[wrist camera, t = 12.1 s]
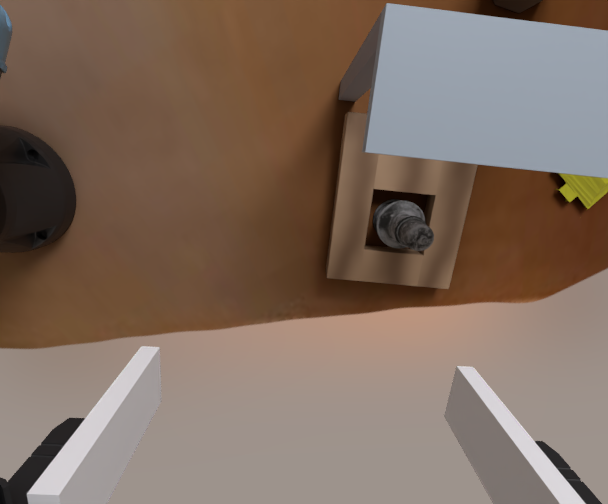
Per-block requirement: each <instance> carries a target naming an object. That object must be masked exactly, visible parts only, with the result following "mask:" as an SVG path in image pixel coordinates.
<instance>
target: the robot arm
mask: <svg viewBox="0 0 608 504" xmlns="http://www.w3.org/2000/svg"><path fill="white" fill-rule="evenodd" d="M11 36H12V24H11V21H10V18H9V16H8V15H7V13H6V11H5V10H4V9H3V7H2V6H1V5H0V78H1V74H2V72H3V73H6V71H7V66H6V64H5V61H6V57H7V53H8V49H9V45H10V41H11ZM75 207H76V195H75V188H74V184H73V181H72V178H71V175H70V173H69V171H68V169H67V167H66V166H65V164H64V162H63V161H62V160H61V158H60V157H59V156H58V155H57V153H56V152H55V151H54V150H53V149H52V148H51V147H50V146H49V145H47V144H46V143H45V142H44V141H42V140H41V139H39V138H38V137H36V136H34V135H33V134H31V133H29V132H26V131H24V130H21V129H18V128H14V127H9V126H0V252H12V253H14V252H25V251H30V250H34V249H37V248H39V247H42V246H45V245H47V244H50V243H52V242H54V241H55V240H57V239H58V238H59V237H60V236H62V235H63V234H64V232H65V231H66V230H67V229H68V227H69V225H70V224H71V222H72V219H73V216H74V213H75ZM160 372H161V371H160V347H147V346H141V348H140V349H139V350H138V351H137V353H136V354H135V355H134V357H133V358H132V359H131V360H130V362H129V363H128V364H127V366H126V367H125V368H124V369H123V371H122V372H121V373H120V375H119V376H118V377H117V379H116V380H115V381H114V382H113V384H112V385H111V386H110V387H109V389H108V390H107V391H106V393H105V394H104V395H103V396H102V398H101V399H100V400H99V402H98V403H97V404H96V405H95V407H94V408H93V409H92V411H91V412H90V413H89V414H88V416H87V417H86V418H85V419H84V418H69V419H67V420H66V421H64V422H63V423H61V424H60V425H58V426H57V427H56V428H54V429H53V430H52V431H51V432H50V434H49V435H48V436H47V437H46V438H45V440H44V441H43V442H42V443H41V446H38V447H37V449H36V450H35V451H34V452H33V453H32V455H31V457H29V458H28V459H27V460H26V461H25V462H24V464H23V465H22V466H21V467H20V468H19V470H18V471H17V472H16V473H15V474H14V475H13V476H12V478H11V479H10V480H9V481H8V482H7V481H6V480H5V479H3V478H0V504H107V502H108V501H109V499H110V497H111V495H112V493H113V491H114V489H115V487H116V486H117V484H118V482H119V480H120V478H121V476H122V474H123V472H124V471H125V469H126V467H127V465H128V463H129V461H130V459H131V457H132V455H133V453H134V452H135V450H136V448H137V446H138V444H139V442H140V440H141V438H142V436H143V435H144V433H145V431H146V429H147V427H148V425H149V423H150V421H151V419H152V418H153V416H154V414H155V412H156V410H157V408H158V406H159V404H160V402H161V373H160ZM444 416H445V419H446V421H447V422H448V424H449V426H450V427H451V429H452V431H453V433H454V435H455V437H456V438H457V440H458V442H459V444H460V445H461V447H462V449H463V451H464V453H465V454H466V456H467V458H468V459H469V461H470V463H471V465H472V467H473V468H474V470H475V472H476V474H477V476H478V477H479V479H480V481H481V483H482V485H483V486H484V488H485V490H486V492H487V493H488V495H489V497H490V499H491V500H492V502H493V504H602V503H601V502H600V501H599V500H598V499H597V498H596V496H595V495H594V494H593V493H592V492H591V491H590V489H589V488H588V487H587V486H586V485H585V484H584V483H583V482H581V481H580V478H579V477H578V476H577V474H576V473H575V472H574V471H573V470H571V469H570V467H569V465H568V464H567V463H566V462H565V461H564V459H563V458H562V457H561V456H560V455H559V454H558V453H557V452H556V451H554V450H553V449H552V448H550V447H549V446H548V445H547V444H545V443H544V442H542V441H534V440H533V439H532V438H531V437H530V435H529V434H528V433H527V432H526V431H525V429H524V428H523V427H522V426H521V424H520V423H519V422H518V421H517V420H516V418H515V417H514V416H513V415H512V414H511V413H510V411H509V410H508V409H507V407H506V406H505V405H504V404H503V403H502V401H501V400H500V399H499V398H498V397H497V395H496V394H495V393H494V392H493V390H492V389H491V388H490V387H489V386H488V384H487V383H486V382H485V381H484V380H483V378H482V377H481V376H480V375H479V373H478V372H477V371H476V370H475V369H474V367H464V366H457V367H456V371H455V375H454V379H453V383H452V387H451V391H450V395H449V399H448V403H447V407H446V411H445V415H444Z"/></svg>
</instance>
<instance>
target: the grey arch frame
mask: <svg viewBox="0 0 608 504" xmlns="http://www.w3.org/2000/svg"><path fill="white" fill-rule="evenodd" d="M370 88H371V91H370V98H369V105H368V112H367V120H366V127H365V134H364V141H363V148H362V152H365V153H374V154H383V155H393V156H402V157H412V158H421V159H430V160H440V161H449V162H459V163H468V164H477V165H487V166H496V167H506V168H515V169H524V170H534V171H543V172H553V173H562V174H571V175H581V176H590V177H599V178H608V31H605V30H597V29H589V28H581V27H573V26H565V25H557V24H549V23H541V22H533V21H525V20H517V19H509V18H501V17H493V16H485V15H477V14H469V13H461V12H453V11H446V10H438V9H430V8H422V7H414V6H406V5H398V4H390V3H387V4H386V5H385V7H384V9H383V10H382V12H381V14H380V16H379V17H378V19H377V21H376V22H375V24H374V26H373V27H372V29H371V31H370V32H369V34H368V36H367V38H366V39H365V41H364V43H363V44H362V46H361V48H360V49H359V51H358V53H357V55H356V56H355V58H354V60H353V61H352V63H351V65H350V66H349V68H348V70H347V71H346V73H345V75H344V77H343V78H342V80H341V83H340V91H339V100H345V101H354V102H355V101H356V100H358V99H359V98H360V97H361V96H362V95H363V94H364V93H365V92H366V91H368V90H369V89H370Z"/></svg>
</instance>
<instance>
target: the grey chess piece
mask: <svg viewBox="0 0 608 504" xmlns="http://www.w3.org/2000/svg"><path fill="white" fill-rule="evenodd" d="M373 225H374V228H375V230H376V232H377V233H378V235H379V237H380V239H381V240H382V241H383V242H384V243H385V244H386V245H388V246H390V247H393V248H406V247H409V248H411V249H412V250H415V251H423V250H425V249H427V248H429V247H430V246H431V244H432V243H433V241H434V233H433V231H432V229H431V228H430V227H429V226H427V225H426V223H425V217H424V214H423V212H422V210H421V209H420V208H419V206H417V205H416V204H414V203H412V202H409V201H402V200H397V199H392V200H388V201H385V202H383V203H382V204H381V205H380V206H379V207H378V208H377V209H376V211H375V213H374V216H373Z"/></svg>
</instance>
